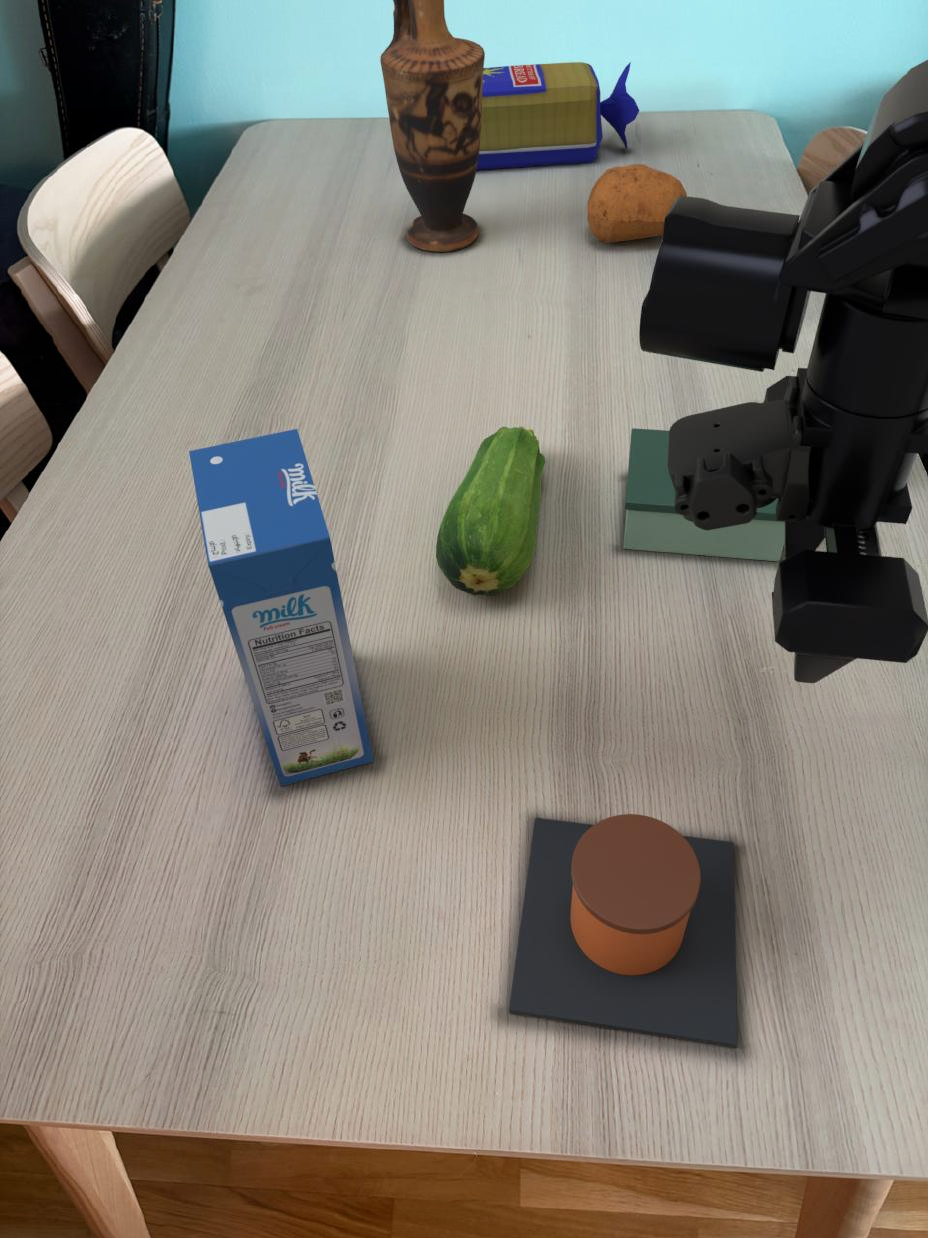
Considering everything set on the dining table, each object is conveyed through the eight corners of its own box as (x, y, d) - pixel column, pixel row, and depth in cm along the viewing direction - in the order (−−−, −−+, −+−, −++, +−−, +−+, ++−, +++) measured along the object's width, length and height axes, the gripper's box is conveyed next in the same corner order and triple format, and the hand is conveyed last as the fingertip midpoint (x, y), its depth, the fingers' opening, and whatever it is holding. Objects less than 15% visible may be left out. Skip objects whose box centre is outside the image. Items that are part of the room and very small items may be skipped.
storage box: (776, 486, 81) (788, 437, 78) (782, 563, 75) (795, 514, 71) (627, 475, 83) (631, 427, 80) (620, 550, 77) (625, 502, 73)
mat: (732, 846, 59) (733, 841, 58) (736, 1048, 51) (737, 1045, 50) (535, 821, 61) (535, 817, 60) (508, 1013, 53) (508, 1010, 52)
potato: (585, 217, 117) (588, 152, 111) (680, 216, 116) (688, 151, 110) (586, 253, 110) (589, 187, 105) (686, 253, 109) (695, 186, 104)
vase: (507, 239, 114) (504, -69, 92) (429, 267, 110) (406, -47, 88) (455, 207, 120) (440, -88, 98) (380, 233, 116) (347, -68, 94)
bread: (441, 145, 133) (436, 62, 126) (621, 133, 133) (627, 50, 126) (444, 176, 126) (440, 91, 119) (635, 163, 126) (642, 77, 119)
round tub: (687, 875, 57) (701, 821, 53) (685, 987, 53) (700, 938, 48) (573, 860, 58) (577, 806, 54) (562, 969, 54) (565, 920, 49)
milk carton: (373, 762, 64) (330, 537, 49) (280, 787, 63) (207, 565, 48) (343, 654, 71) (296, 427, 56) (258, 675, 70) (188, 449, 55)
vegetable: (446, 525, 67) (506, 369, 80) (408, 585, 72) (471, 429, 86) (539, 573, 68) (583, 411, 81) (495, 629, 73) (544, 468, 87)
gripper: (691, 272, 51) (660, 501, 62) (686, 501, 39) (648, 734, 50) (914, 281, 49) (840, 514, 61) (983, 524, 37) (874, 759, 48)
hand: (798, 618), depth 55 cm, fingers open, 9 cm apart
